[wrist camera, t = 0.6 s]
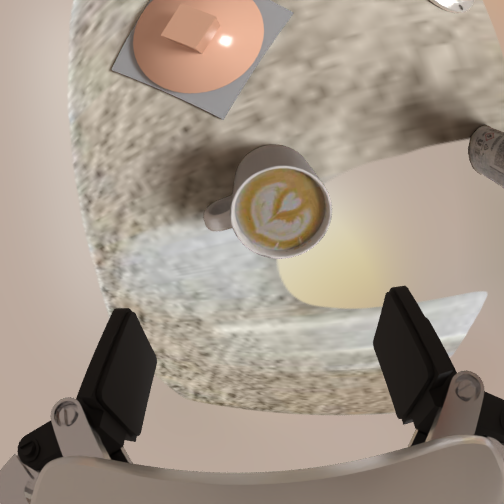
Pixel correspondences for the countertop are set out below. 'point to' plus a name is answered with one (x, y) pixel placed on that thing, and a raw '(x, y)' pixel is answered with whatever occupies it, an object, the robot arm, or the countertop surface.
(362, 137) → the countertop surface
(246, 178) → the coffee mug
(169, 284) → the countertop surface
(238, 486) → the robot arm
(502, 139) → the spray can
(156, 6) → the lid
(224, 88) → the mat
